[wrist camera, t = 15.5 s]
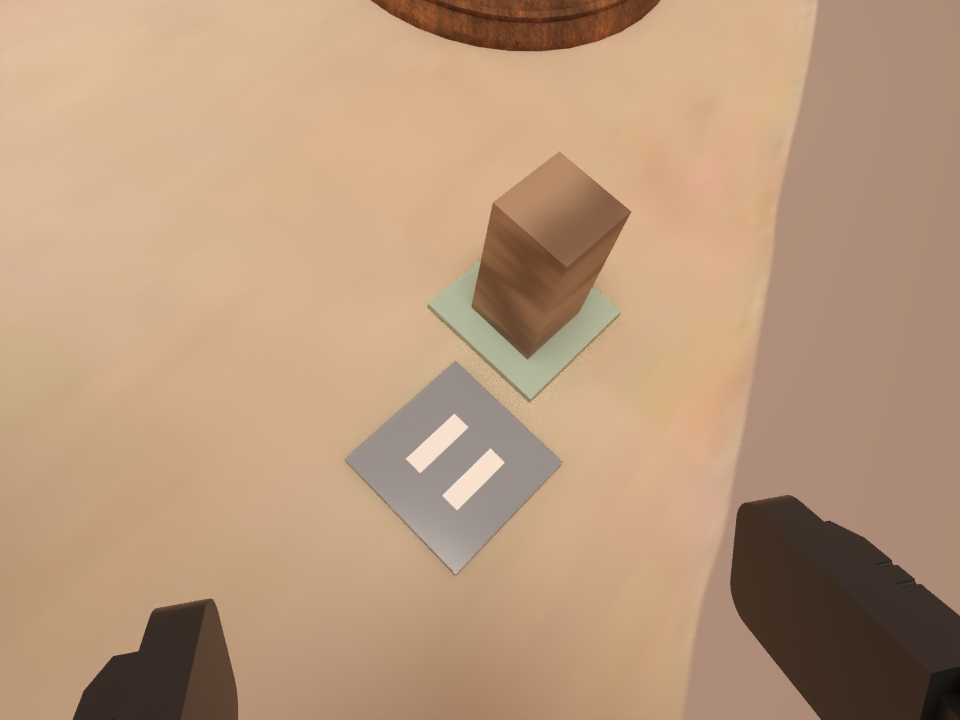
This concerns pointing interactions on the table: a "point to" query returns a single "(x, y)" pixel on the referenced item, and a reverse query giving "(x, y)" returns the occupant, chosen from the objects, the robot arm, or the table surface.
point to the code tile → (454, 465)
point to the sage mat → (501, 354)
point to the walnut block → (545, 252)
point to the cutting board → (520, 20)
